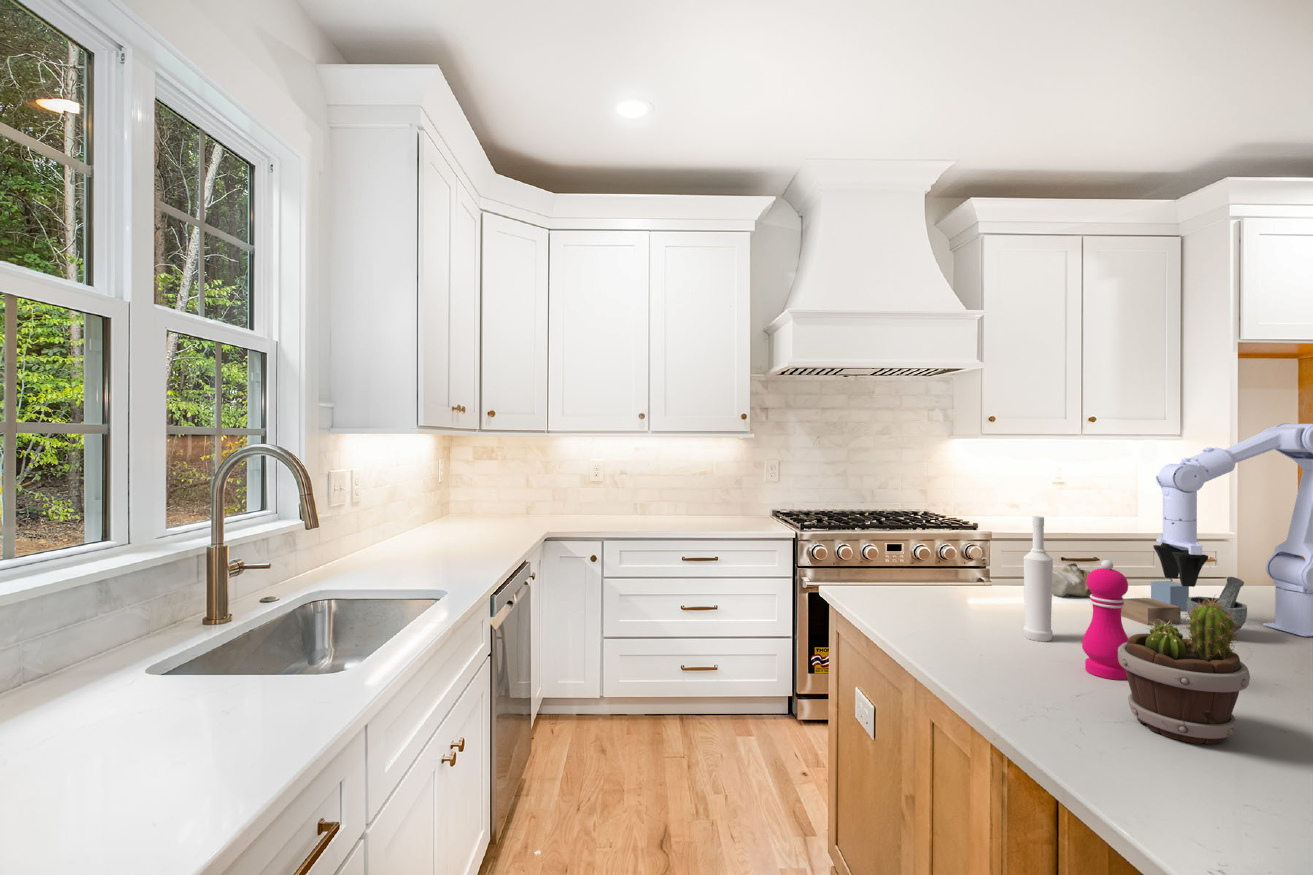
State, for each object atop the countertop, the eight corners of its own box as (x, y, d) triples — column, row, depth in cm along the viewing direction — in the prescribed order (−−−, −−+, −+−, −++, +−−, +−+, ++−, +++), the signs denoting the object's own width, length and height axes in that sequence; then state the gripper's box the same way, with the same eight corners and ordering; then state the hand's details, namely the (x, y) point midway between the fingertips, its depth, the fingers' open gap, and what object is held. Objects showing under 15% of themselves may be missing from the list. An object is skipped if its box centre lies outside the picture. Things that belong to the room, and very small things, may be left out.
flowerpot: (1110, 731, 91) (1111, 591, 90) (1124, 697, 102) (1125, 573, 102) (1249, 767, 81) (1251, 610, 81) (1248, 726, 92) (1250, 588, 92)
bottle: (1044, 634, 134) (1045, 515, 133) (1057, 642, 128) (1058, 518, 128) (1018, 633, 134) (1019, 514, 134) (1030, 641, 129) (1031, 518, 129)
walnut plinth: (1148, 614, 148) (1148, 597, 148) (1180, 625, 140) (1180, 607, 140) (1117, 616, 147) (1117, 598, 147) (1147, 626, 140) (1148, 608, 139)
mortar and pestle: (1221, 644, 127) (1221, 584, 127) (1174, 630, 136) (1174, 574, 136) (1265, 640, 129) (1265, 581, 129) (1216, 626, 138) (1216, 571, 138)
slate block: (1168, 605, 156) (1169, 580, 155) (1188, 610, 151) (1188, 585, 151) (1150, 606, 155) (1151, 581, 155) (1170, 611, 150) (1170, 586, 150)
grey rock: (1035, 557, 170) (1090, 560, 170) (1032, 589, 170) (1088, 592, 170) (1061, 566, 159) (1120, 569, 159) (1058, 601, 159) (1117, 604, 160)
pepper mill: (1140, 682, 108) (1141, 565, 108) (1093, 679, 109) (1093, 563, 109) (1119, 667, 115) (1119, 556, 115) (1074, 664, 116) (1075, 555, 116)
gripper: (1143, 514, 146) (1143, 573, 146) (1173, 523, 132) (1173, 588, 132) (1180, 515, 144) (1180, 575, 144) (1214, 524, 130) (1214, 591, 130)
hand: (1179, 581), depth 138 cm, fingers open, 7 cm apart
